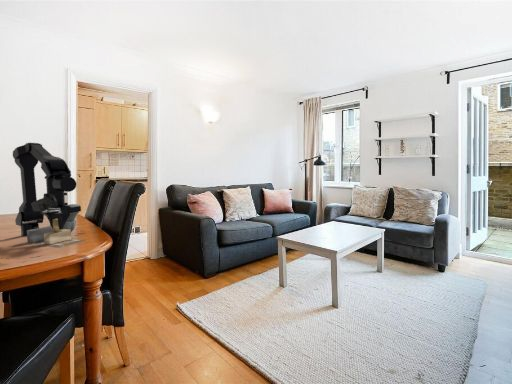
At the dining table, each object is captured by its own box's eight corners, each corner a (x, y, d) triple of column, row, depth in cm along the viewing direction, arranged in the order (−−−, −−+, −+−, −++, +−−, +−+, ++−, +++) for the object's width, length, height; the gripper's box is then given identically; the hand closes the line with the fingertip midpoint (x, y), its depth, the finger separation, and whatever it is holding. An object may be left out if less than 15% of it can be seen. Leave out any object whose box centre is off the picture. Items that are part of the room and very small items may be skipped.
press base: (22, 247, 111) (21, 231, 110) (51, 240, 122) (51, 225, 122) (61, 251, 106) (60, 234, 105) (87, 243, 118) (86, 228, 117)
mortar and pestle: (50, 239, 123) (49, 212, 122) (50, 235, 131) (49, 209, 130) (80, 236, 130) (79, 210, 129) (79, 232, 138) (78, 208, 136)
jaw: (44, 243, 110) (43, 221, 109) (65, 238, 118) (64, 217, 118) (50, 244, 109) (49, 221, 108) (71, 238, 118) (70, 217, 117)
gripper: (16, 191, 107) (18, 232, 108) (55, 192, 102) (57, 235, 103) (44, 189, 117) (46, 226, 119) (81, 190, 113) (82, 229, 114)
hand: (57, 229), depth 113 cm, fingers closed on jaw, 3 cm apart
